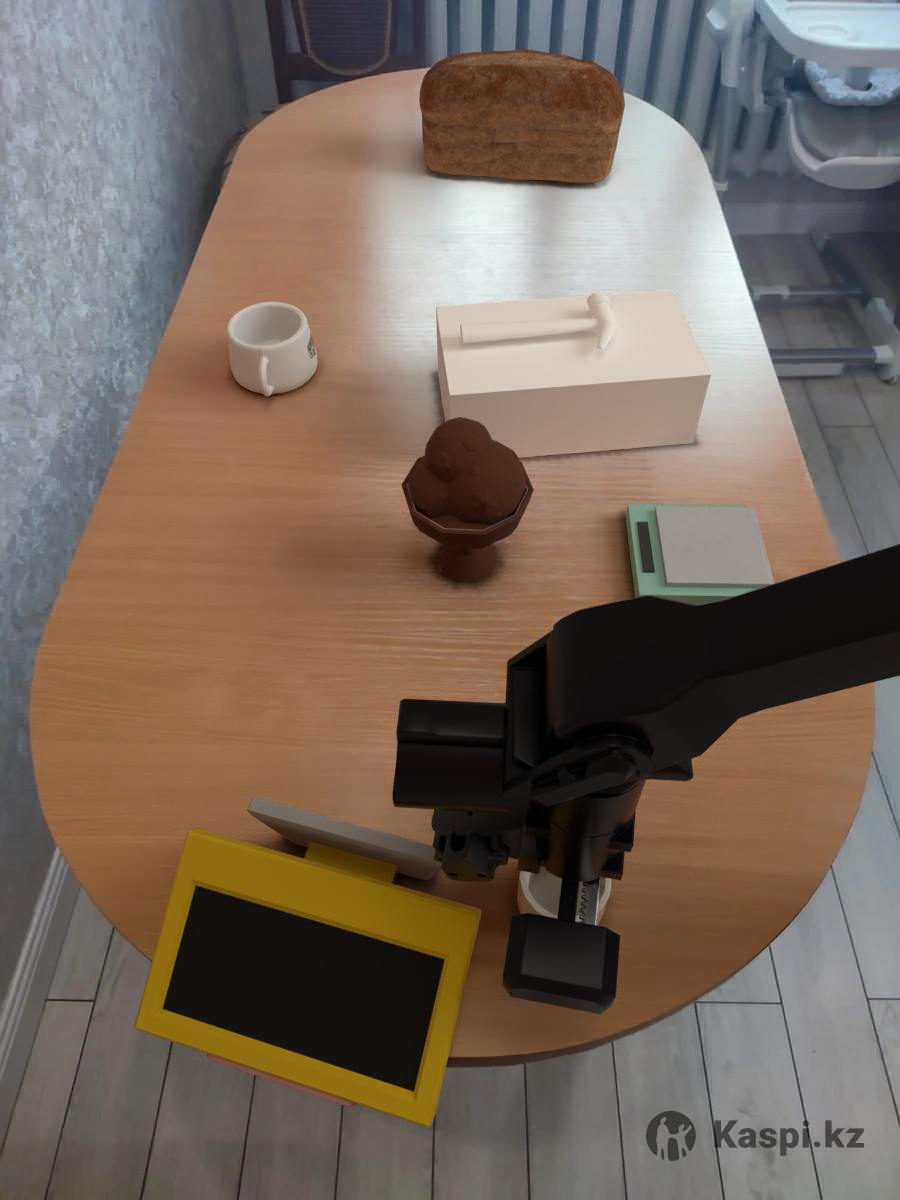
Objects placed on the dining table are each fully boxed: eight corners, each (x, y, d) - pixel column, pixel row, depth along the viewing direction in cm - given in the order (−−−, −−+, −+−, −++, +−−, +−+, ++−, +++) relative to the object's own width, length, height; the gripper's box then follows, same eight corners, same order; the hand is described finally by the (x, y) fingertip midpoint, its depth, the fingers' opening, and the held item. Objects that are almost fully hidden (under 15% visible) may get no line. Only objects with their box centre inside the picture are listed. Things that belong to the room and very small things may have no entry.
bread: (430, 141, 134) (426, 35, 123) (618, 153, 131) (632, 44, 119) (415, 181, 127) (409, 71, 115) (613, 194, 123) (628, 82, 112)
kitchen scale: (747, 518, 85) (753, 500, 83) (769, 609, 78) (776, 592, 76) (625, 516, 85) (628, 499, 84) (636, 607, 79) (640, 590, 77)
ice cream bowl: (390, 587, 81) (376, 465, 69) (437, 505, 87) (432, 379, 75) (500, 622, 78) (506, 500, 66) (541, 534, 84) (552, 409, 73)
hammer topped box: (693, 443, 92) (716, 354, 83) (451, 463, 90) (449, 375, 82) (658, 357, 101) (676, 269, 92) (438, 374, 99) (435, 286, 91)
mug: (239, 344, 103) (228, 298, 99) (322, 343, 103) (315, 297, 99) (223, 412, 96) (211, 366, 91) (313, 410, 96) (305, 364, 91)
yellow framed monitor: (493, 860, 57) (422, 1138, 50) (495, 883, 63) (433, 1130, 57) (206, 782, 60) (103, 1031, 53) (239, 812, 67) (151, 1036, 60)
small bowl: (606, 868, 64) (614, 842, 60) (599, 952, 60) (607, 930, 57) (523, 853, 65) (526, 827, 61) (511, 936, 61) (514, 913, 58)
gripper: (471, 631, 56) (470, 752, 68) (405, 930, 44) (419, 1011, 57) (651, 657, 54) (618, 776, 66) (632, 973, 43) (596, 1046, 55)
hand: (563, 890), depth 61 cm, fingers open, 9 cm apart
